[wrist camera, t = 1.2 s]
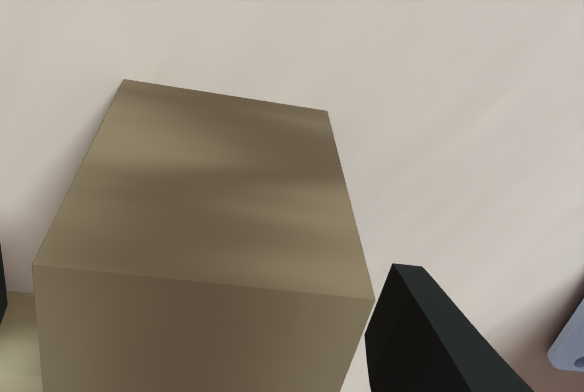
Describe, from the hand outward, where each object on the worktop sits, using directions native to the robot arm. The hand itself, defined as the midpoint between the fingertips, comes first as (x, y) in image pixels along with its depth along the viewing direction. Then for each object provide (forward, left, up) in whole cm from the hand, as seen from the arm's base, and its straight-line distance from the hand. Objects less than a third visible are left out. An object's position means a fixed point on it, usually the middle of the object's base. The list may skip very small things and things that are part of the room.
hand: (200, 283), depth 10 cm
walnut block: (0, 0, -4) cm, 4 cm away
